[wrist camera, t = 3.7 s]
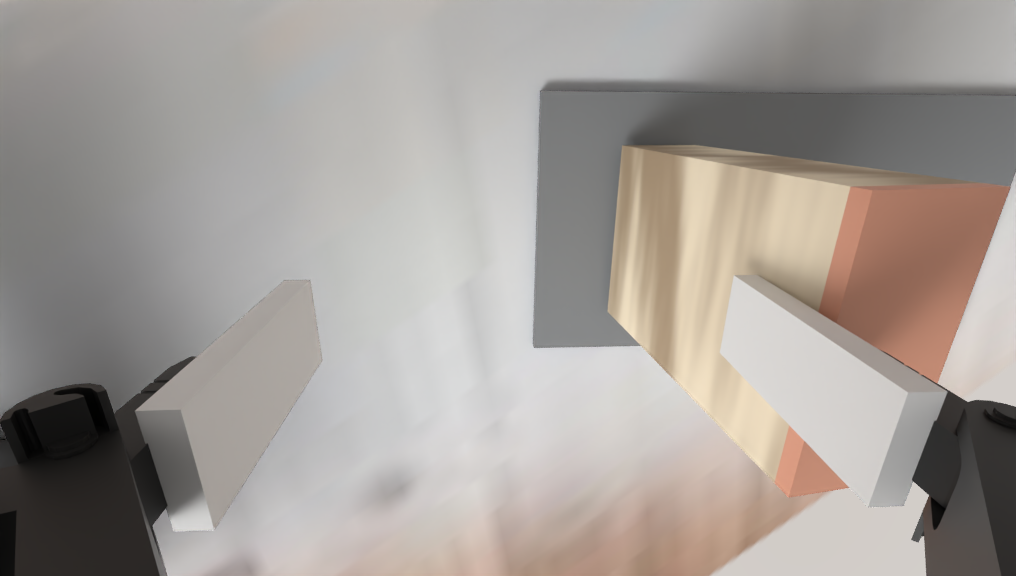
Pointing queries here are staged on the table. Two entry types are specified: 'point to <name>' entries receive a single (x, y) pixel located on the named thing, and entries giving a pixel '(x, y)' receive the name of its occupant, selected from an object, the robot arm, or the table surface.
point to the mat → (736, 126)
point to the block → (789, 270)
